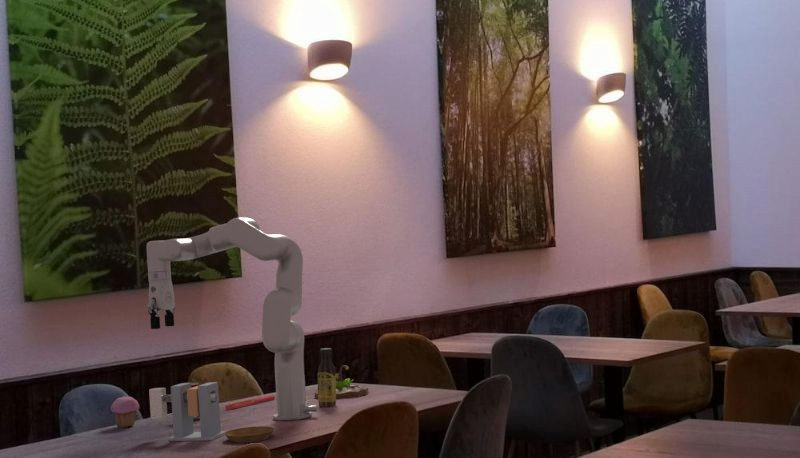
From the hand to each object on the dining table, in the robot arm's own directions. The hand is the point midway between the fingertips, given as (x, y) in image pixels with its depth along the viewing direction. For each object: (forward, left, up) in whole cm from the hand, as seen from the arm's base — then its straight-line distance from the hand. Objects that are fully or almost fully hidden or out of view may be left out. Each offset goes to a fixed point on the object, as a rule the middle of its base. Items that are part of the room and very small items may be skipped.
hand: (162, 327), depth 367 cm
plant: (-45, -49, -32) cm, 74 cm away
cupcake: (+9, +12, -32) cm, 35 cm away
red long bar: (-17, -30, -32) cm, 47 cm away
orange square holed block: (-28, +33, -24) cm, 50 cm away
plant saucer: (-46, +36, -32) cm, 66 cm away
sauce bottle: (-49, -23, -31) cm, 63 cm away
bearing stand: (-28, +33, -31) cm, 53 cm away
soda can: (-9, 0, -31) cm, 33 cm away
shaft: (-23, +33, -25) cm, 48 cm away
